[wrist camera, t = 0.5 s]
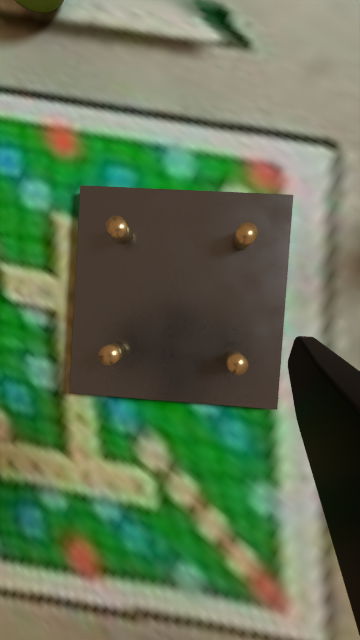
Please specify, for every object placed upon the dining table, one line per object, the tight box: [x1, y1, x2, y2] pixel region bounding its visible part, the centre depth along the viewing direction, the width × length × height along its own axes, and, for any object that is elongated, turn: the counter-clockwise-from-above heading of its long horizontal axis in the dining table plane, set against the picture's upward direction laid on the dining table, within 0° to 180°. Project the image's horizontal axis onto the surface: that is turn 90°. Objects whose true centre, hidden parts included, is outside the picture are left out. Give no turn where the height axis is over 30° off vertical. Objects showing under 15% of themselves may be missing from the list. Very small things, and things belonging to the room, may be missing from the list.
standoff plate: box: [69, 186, 293, 409], centre depth 21 cm, size 16×16×3 cm
